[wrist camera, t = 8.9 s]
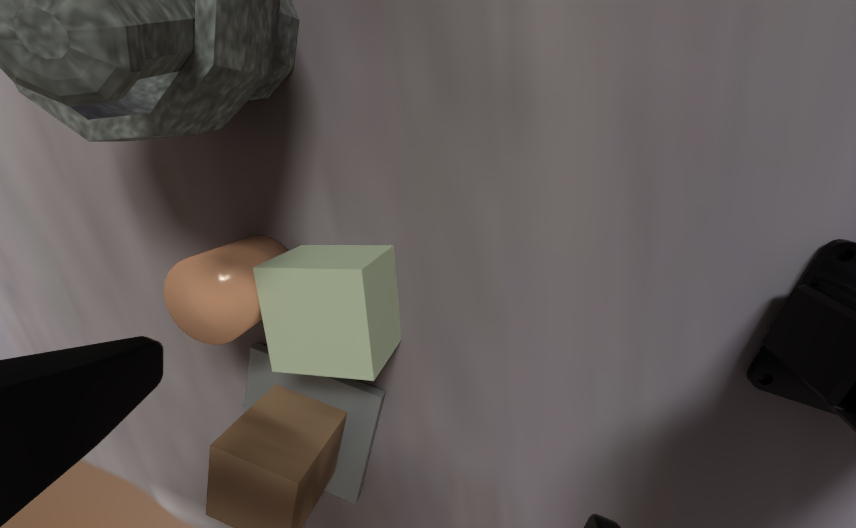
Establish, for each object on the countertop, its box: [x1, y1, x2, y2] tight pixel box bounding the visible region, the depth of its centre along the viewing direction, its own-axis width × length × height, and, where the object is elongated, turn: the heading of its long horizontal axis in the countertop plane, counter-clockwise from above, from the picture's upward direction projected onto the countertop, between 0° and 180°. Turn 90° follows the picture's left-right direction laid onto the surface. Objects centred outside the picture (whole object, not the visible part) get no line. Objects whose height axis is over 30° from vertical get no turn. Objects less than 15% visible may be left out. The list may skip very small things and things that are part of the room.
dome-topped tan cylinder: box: [164, 236, 288, 345], centre depth 20 cm, size 4×4×4 cm
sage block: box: [253, 245, 402, 381], centre depth 19 cm, size 5×5×4 cm
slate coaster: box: [243, 343, 386, 504], centre depth 24 cm, size 8×8×1 cm
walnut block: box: [206, 384, 347, 528], centre depth 21 cm, size 4×4×5 cm
